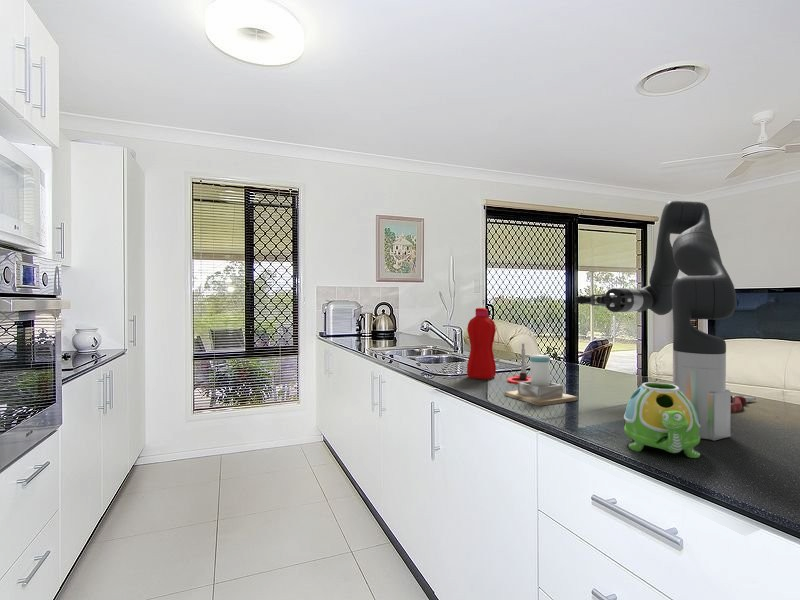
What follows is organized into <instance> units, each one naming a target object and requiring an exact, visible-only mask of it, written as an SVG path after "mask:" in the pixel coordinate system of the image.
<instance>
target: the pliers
mask: <svg viewBox="0 0 800 600" xmlns="http://www.w3.org/2000/svg"><path fill="white" fill-rule="evenodd" d="M755 400H757V399H756V398H755V397H751V396H745V395H742V394H741V395H739V394H738V395H731V402H732V403H731V413H735V412H736V411H737V412H740V411H742V409H743V406H747V403H750V402H753V401H755ZM737 412H736V413H737Z"/></svg>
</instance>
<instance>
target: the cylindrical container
mask: <svg viewBox="0 0 800 600" xmlns="http://www.w3.org/2000/svg"><path fill="white" fill-rule="evenodd" d="M529 359H530V360H529V361H530V369H529V370H530V371H529V372H530V373H529V374H530V375H529V376H530V377H531V385H533V386H537V387H545V386H550V372H551V371H550V370H551V369H550V362H551V361H550V355H548V354H530V356H529Z"/></svg>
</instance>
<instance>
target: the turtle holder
mask: <svg viewBox="0 0 800 600" xmlns="http://www.w3.org/2000/svg"><path fill="white" fill-rule="evenodd" d="M623 419H624V423H625V425H624V428H623V431H624V433H625V435H626V436H627V437H628V438H630V439H631V440H633V442H629V443H628V448H629V449H630V450H631V451H634V452H640V453H641V452H642V450H643V449H644V447H645V446H646V447H650V448H651V447H652V448H656V449H660V450H664V451H665V452H668V453H670V454H671V453H672V454H679V453H680V452H682V451H683V453H684V455H685V456H686V457H687V458H691V459H696V458H697V459H698V458H700V457H701V453H700V452H699V451H697V450H695V449H694V448H695V447H696V446H698V445H699V444H700V441H701V438H700V436H699V428H700V424H699V421H698V416H697V413H696V411H695V409H694V406H693V404H692V403H691V402H690V400H689V399H688V398H687V397H686V396H685V395H684V394H683V393H682V392H681V391H680V389H679V387H678V386H676V385H673V383H667V382H655V381H654V382H651V381H650V382H643V383H641V385H640V386H639V387H637V388H636V389H635V390H634V392H633V393H632V395H631V396H630V398H629V400H628V402H627V405H626V408H625V413H624V414H623Z"/></svg>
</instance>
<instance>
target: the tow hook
mask: <svg viewBox="0 0 800 600" xmlns="http://www.w3.org/2000/svg"><path fill="white" fill-rule="evenodd" d="M520 371H521V372H520V373H519V374H517V375H516V374H515V375H513V376H510V377H508V378H506V379H507V383H509V384H514V385H518V382H526V381H531V376H530V375H529V376H528V372H527V365H526V349H525V343H523V342H522V343H521V366H520Z"/></svg>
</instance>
